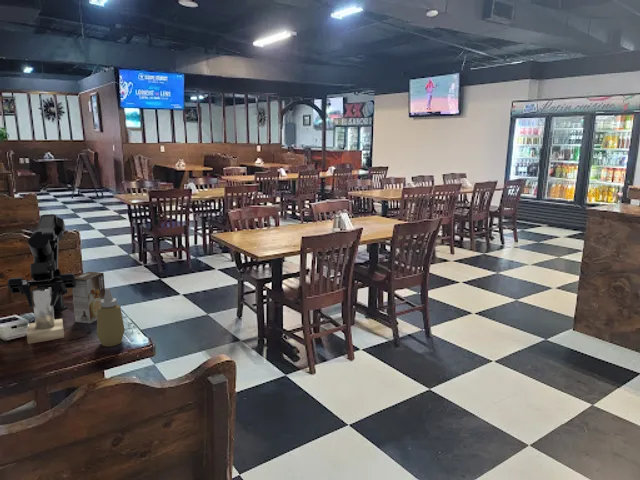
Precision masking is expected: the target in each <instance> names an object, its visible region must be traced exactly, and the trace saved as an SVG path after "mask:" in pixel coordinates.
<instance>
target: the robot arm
mask: <svg viewBox="0 0 640 480" xmlns="http://www.w3.org/2000/svg"><path fill="white" fill-rule="evenodd" d="M64 232H66V224H65V220H64V219H63V218H62V217H59V216H58V215H57V214H54V213H50V214H49V213H48V214H47V213H45V214H41V216H40V219H39V220H38V229H36V230H33V232H32V235H30V236H29V239H28V240H27V242H28V246H29V249H30V251H31V254H32V256H33V263H30V265H29V266H30V276H31V277H30V278H31V279H32V280H28V279H24V277H23V276H22V277H21V276H20V277H10V278H8V280H7V287H8V289H9V292H10V293H11V294H20V295H25V298H26V299H27V302H28V306H29V307H30V309H33V307H34V306H33V296H32V290H31V288H32V287H36V288H39V287H51V288H52V298H53V309H54V314H58V313H59V312H62V311H64V310H65V309H67V308H68V305H65V304H64V295H66V294H68V289H72V288H75V287H76V280H75V277H76V276H75V274H74V273H72V272H71V273H62V272H61V270H60V269H59V243H60V241H61V240H62V239H63V238H64Z"/></svg>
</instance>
